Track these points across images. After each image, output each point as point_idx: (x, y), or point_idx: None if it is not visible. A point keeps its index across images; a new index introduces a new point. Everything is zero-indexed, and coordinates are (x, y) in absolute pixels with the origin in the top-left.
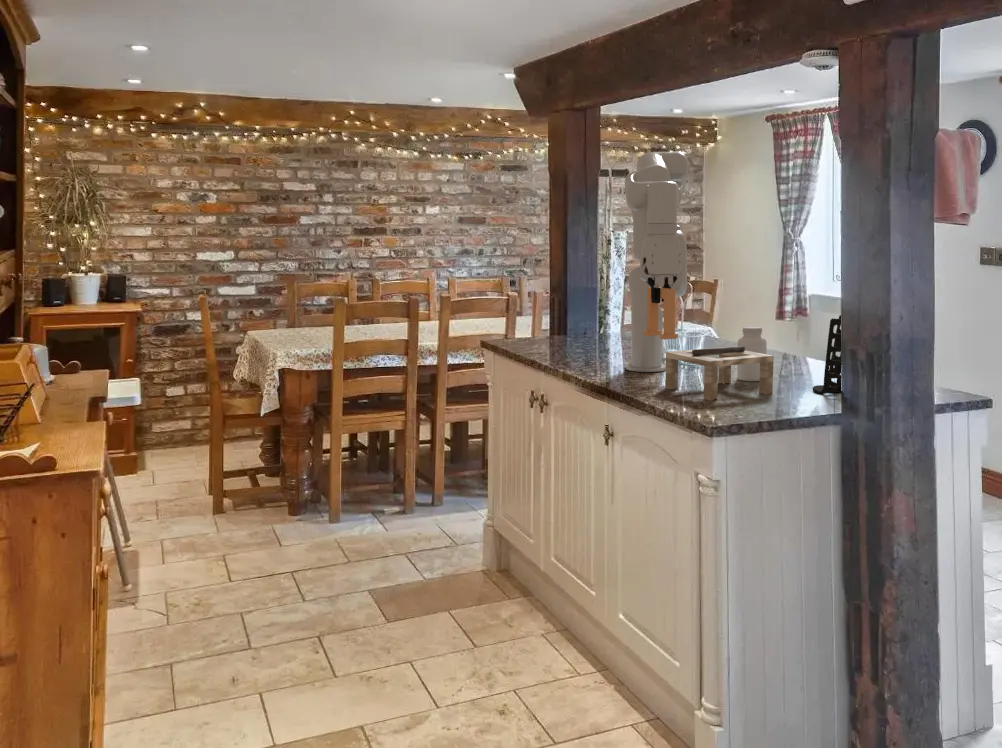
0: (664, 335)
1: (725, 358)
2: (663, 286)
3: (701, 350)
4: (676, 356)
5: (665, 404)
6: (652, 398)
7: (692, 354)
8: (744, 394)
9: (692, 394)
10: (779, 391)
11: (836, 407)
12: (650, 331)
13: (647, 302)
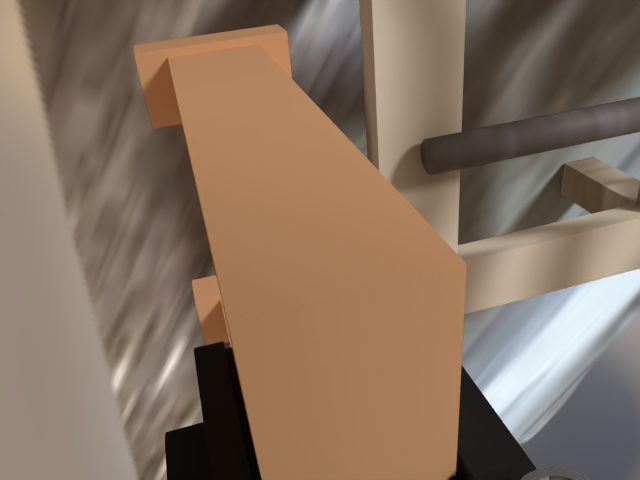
0: (205, 343)
1: (495, 274)
2: (503, 472)
3: (476, 165)
4: (368, 42)
5: (137, 277)
6: (127, 148)
7: (423, 143)
8: (504, 175)
9: (336, 115)
10: (633, 158)
11: (567, 394)
12: (181, 122)
13: (193, 170)
